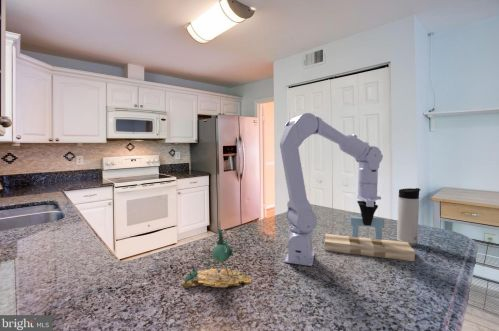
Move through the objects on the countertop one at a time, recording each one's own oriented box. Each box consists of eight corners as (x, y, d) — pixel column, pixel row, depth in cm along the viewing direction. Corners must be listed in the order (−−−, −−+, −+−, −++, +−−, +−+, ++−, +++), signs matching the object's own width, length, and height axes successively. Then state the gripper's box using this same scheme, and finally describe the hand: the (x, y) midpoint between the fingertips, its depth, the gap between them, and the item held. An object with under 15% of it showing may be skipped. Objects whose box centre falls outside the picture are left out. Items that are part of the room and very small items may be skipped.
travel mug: (421, 247, 87) (424, 189, 85) (400, 245, 88) (402, 189, 87) (413, 240, 93) (415, 187, 91) (394, 239, 94) (396, 186, 93)
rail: (414, 261, 76) (414, 251, 76) (324, 250, 84) (324, 241, 84) (407, 251, 83) (407, 242, 83) (325, 242, 92) (325, 233, 91)
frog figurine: (187, 271, 70) (192, 219, 69) (251, 279, 69) (258, 227, 69) (176, 290, 60) (183, 230, 59) (251, 299, 60) (258, 239, 59)
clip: (383, 239, 81) (384, 220, 80) (350, 236, 84) (350, 217, 83) (382, 237, 83) (383, 218, 83) (349, 234, 86) (350, 216, 86)
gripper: (385, 186, 74) (384, 231, 75) (377, 180, 88) (376, 219, 89) (359, 185, 76) (358, 229, 77) (355, 180, 90) (354, 217, 91)
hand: (366, 223), depth 83 cm, fingers closed on clip, 2 cm apart
